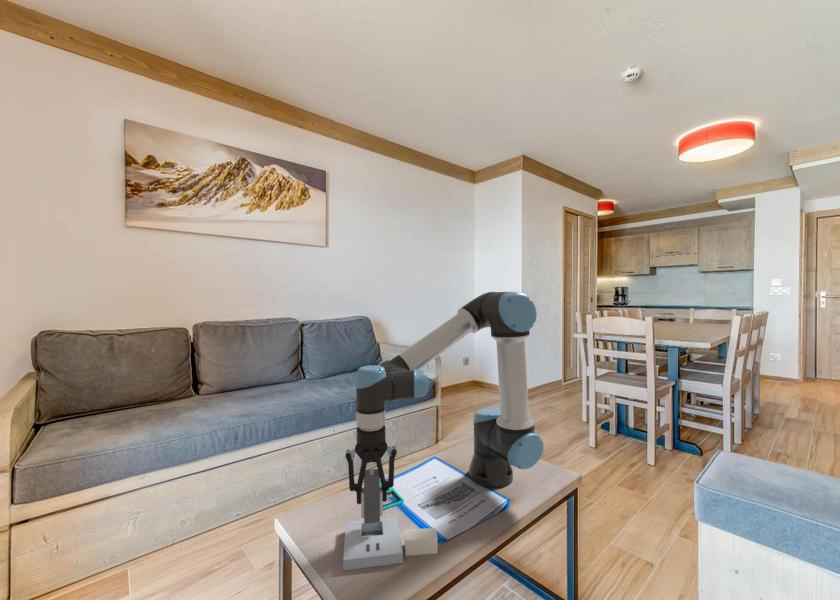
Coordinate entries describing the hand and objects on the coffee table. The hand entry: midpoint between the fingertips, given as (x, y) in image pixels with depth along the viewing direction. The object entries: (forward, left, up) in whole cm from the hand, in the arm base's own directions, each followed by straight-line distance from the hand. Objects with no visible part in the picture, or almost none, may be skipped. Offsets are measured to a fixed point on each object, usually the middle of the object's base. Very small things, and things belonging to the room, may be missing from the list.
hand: (371, 513), depth 95 cm
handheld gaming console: (-4, -20, -7) cm, 22 cm away
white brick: (-12, +6, -7) cm, 15 cm away
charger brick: (0, 0, -1) cm, 1 cm away
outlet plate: (0, +3, -7) cm, 7 cm away
